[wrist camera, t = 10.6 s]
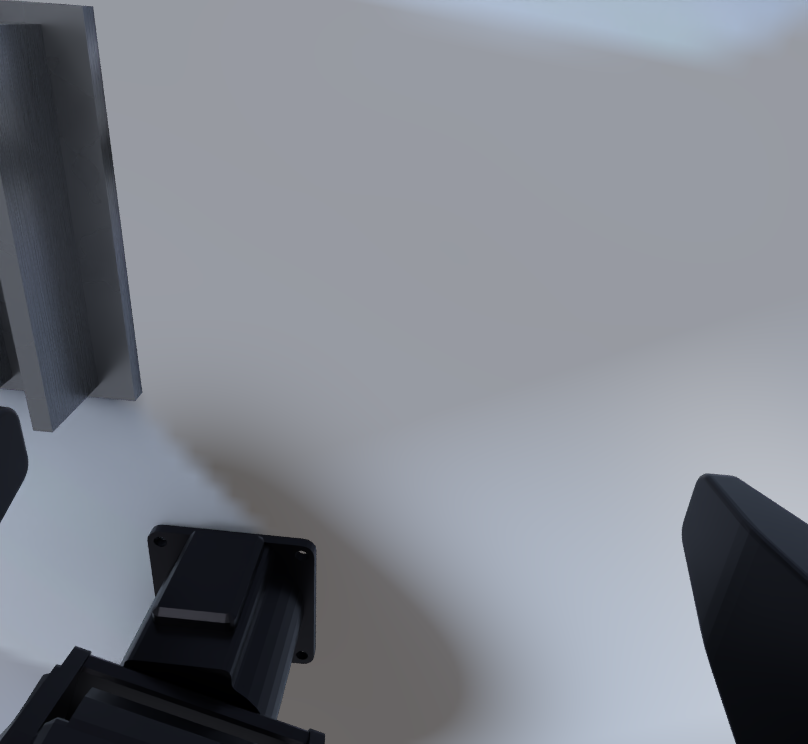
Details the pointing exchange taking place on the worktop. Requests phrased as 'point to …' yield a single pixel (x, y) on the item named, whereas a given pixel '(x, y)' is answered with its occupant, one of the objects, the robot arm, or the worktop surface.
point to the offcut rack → (59, 219)
